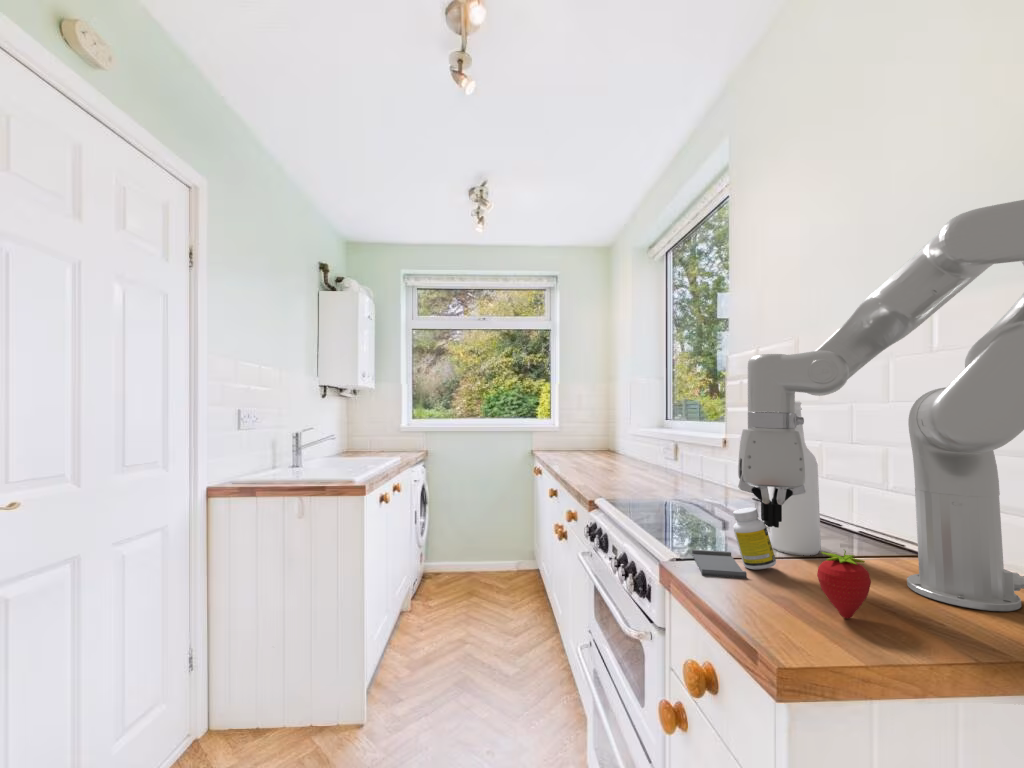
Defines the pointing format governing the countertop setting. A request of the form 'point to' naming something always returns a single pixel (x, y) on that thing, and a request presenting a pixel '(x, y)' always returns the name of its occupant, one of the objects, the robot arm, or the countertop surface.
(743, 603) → the countertop surface
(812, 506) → the alcohol
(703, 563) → the tray
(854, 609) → the strawberry
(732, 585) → the countertop surface
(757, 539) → the supplement bottle
